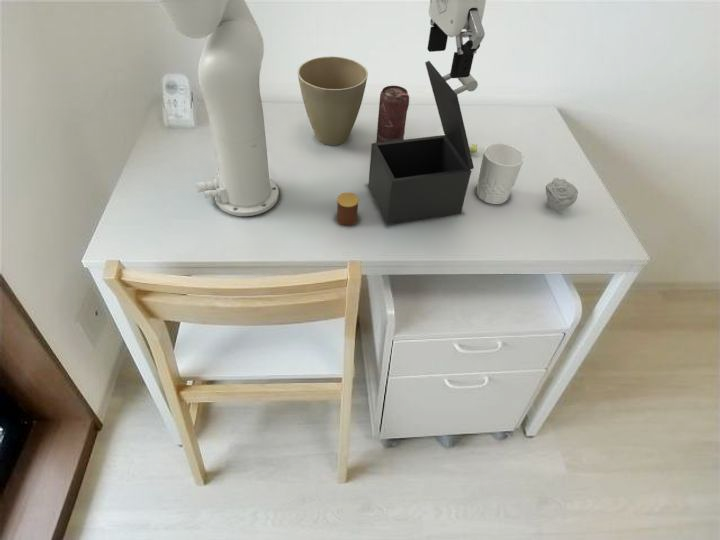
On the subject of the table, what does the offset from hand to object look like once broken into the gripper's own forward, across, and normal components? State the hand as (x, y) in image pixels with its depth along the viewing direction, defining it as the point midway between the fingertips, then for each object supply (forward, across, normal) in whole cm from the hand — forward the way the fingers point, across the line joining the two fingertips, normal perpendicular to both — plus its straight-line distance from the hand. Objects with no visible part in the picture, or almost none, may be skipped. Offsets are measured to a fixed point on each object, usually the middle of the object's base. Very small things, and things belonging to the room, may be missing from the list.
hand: (447, 63), depth 86 cm
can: (+29, -20, 0) cm, 35 cm away
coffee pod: (+29, +2, -17) cm, 34 cm away
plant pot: (+29, -27, -12) cm, 42 cm away
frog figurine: (+29, +8, +26) cm, 40 cm away
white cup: (+29, +1, +15) cm, 33 cm away
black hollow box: (+29, -1, -2) cm, 29 cm away
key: (+29, -16, +12) cm, 35 cm away
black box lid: (+11, -1, +3) cm, 11 cm away
